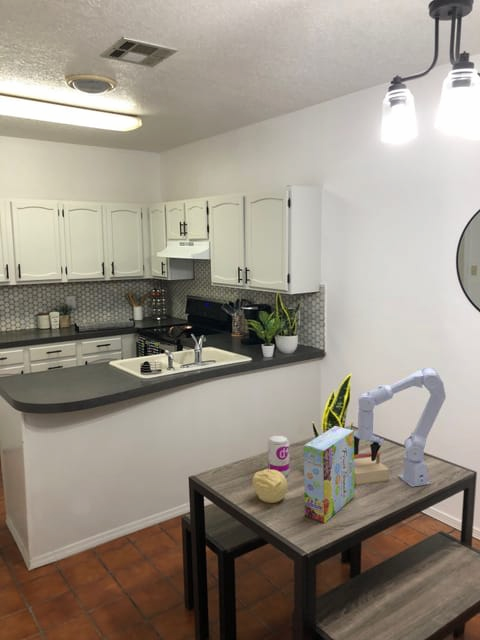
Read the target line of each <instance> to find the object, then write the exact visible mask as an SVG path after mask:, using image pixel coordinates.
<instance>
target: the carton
mask: <svg viewBox="0 0 480 640" xmlns="http://www.w3.org/2000/svg"><path fill="white" fill-rule="evenodd" d="M385 481H390V468H388V467H387V466H386V465H385V464H383V463H382V462H380V463H377V464H370V465H363V466H356V467H354V486H355V485H356V486H359V485H365V484H366V485H367V484H373V483H379V482H385Z"/></svg>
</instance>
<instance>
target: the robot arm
mask: <svg viewBox="0 0 480 640" xmlns="http://www.w3.org/2000/svg"><path fill="white" fill-rule="evenodd" d="M423 386H424V387H425V388H426V389H427V391H428V392H429V394H430V397H429V398H428V400H427V402H426V404H425V406H424V408H423V411H422V414H421V415H420V418H419V419H418V422H417V423H416V427H414V431H412V432H411V433H410V435H409V436H408V437H407V438H405V440H404V443H403V445H404V448H405V453H403V460H402V461H403V462H402V473H401V474H398V475H397V476H398V477H399V478H400V479H401V480H402V481H404V482H405V483H406V484H408V485H409V486H410V487H418V486H425V485H430V482H429V467H428V465H427V464H426V463H425V461H424V455H425V452H424V451H425V447H426V443H427V438H428V436H429V434H430V432H431V429H432V428H433V425H434V423H435V421H436V419H437V417H438V415H439V413H440V410H441V409H442V406H443V404H444V401H445V400H446V389H445V387H444V382H443V380H442V378H441V376H440V375H439V373H438V372H437V370H436V369H435V368H433V367H429V366H427V367H424V368H423V369H419V370H416V371H415V372H413V373H412V374H409V375H408V376H406V377H404V378H402V379H401V380H399V381H396V382H395V383H392V384H391V385H387V384H383V385H382V384H378V387H377V388H375V389H373V390H371V391H370V390H369V391H366V392H364V393H362V394H360V395H359V397H358V414H357V415H358V416H357V418H358V421H357V430H354V455H358V454H359V451H360V450H359V446H360V445H359V444H360V440H363V441H367V442H370V443H371V444H370V446H369V447H370V451H371V452H370V453H371V461H374V460H376V456H377V453H378V452H380V451H379V450H380V449H381V447H382V445H384V444H385V443H384V438H380V437H379V436H377V435H375V434H374V409H375V407H376V406H380V405H381V404H384V403H386V402H387V401H389V400H392V399H393V397H394V394H398V393H400V392H403V391H404V390H407V389H409V388H411V387H417V388H421V389H422V388H423Z"/></svg>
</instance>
